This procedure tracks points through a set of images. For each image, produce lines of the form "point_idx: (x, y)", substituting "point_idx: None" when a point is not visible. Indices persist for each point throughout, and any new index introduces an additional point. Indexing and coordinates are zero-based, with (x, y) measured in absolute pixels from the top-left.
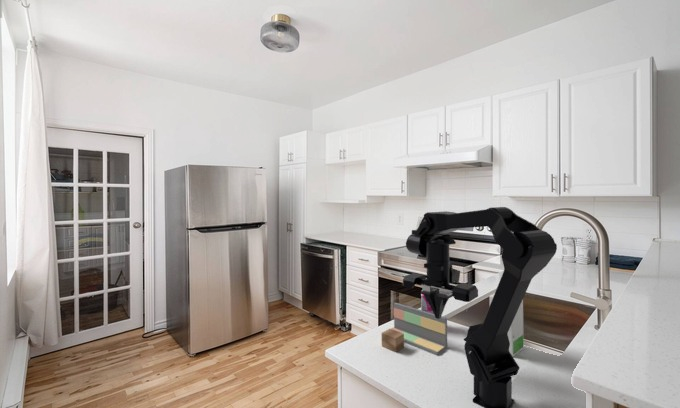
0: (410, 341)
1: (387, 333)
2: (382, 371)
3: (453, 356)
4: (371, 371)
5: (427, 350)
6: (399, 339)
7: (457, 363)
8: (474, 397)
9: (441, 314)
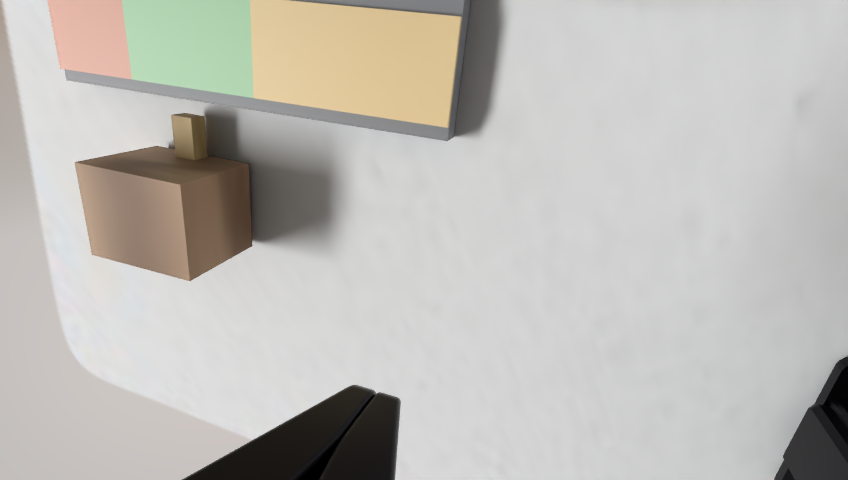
0: (240, 96)
1: (117, 243)
2: None
3: (557, 56)
4: None
5: (378, 128)
6: (203, 229)
7: (610, 141)
8: (787, 472)
9: (395, 456)
